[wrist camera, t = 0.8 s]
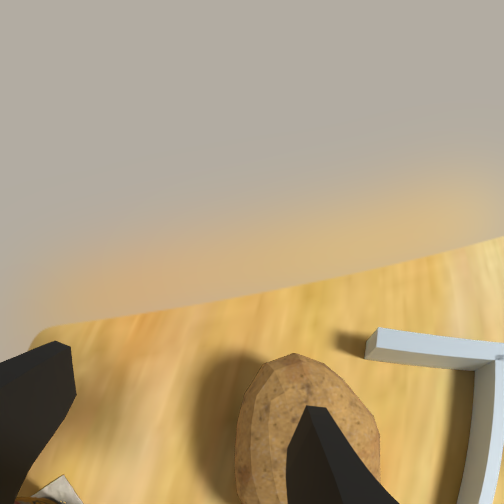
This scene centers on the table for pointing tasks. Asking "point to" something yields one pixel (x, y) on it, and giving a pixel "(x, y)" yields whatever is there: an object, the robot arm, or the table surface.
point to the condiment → (53, 494)
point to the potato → (293, 424)
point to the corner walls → (484, 401)
